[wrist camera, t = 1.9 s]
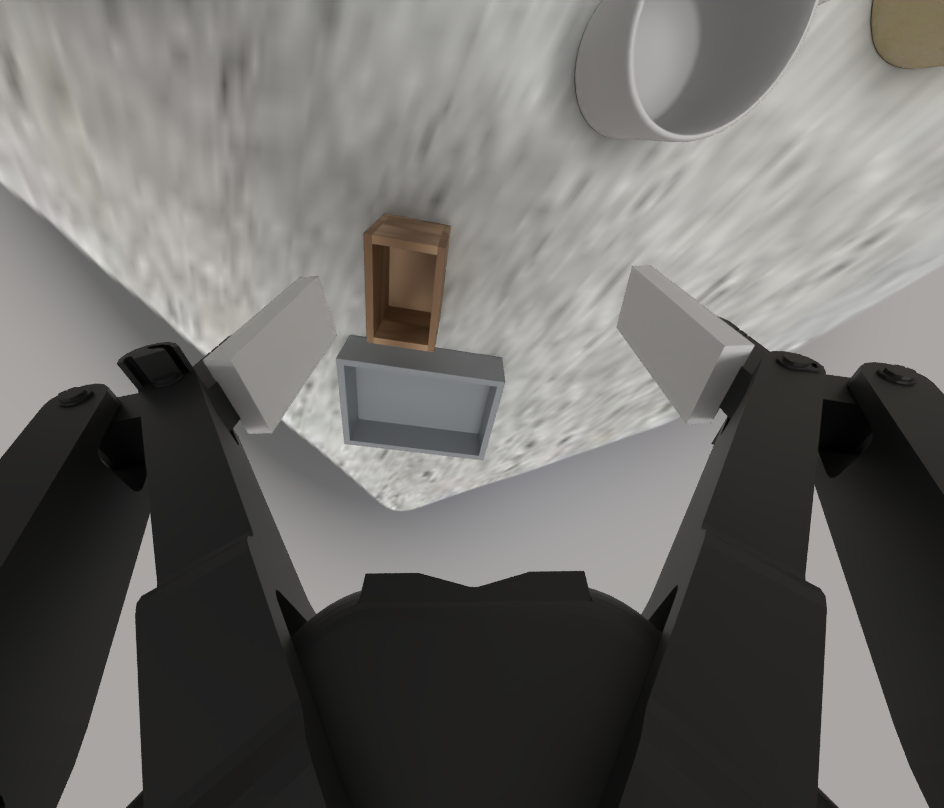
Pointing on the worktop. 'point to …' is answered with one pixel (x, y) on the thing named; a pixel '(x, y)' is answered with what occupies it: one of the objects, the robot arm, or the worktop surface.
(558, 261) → the worktop surface
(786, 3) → the mug
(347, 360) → the grey crate
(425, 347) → the walnut crate
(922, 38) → the beige teapot
